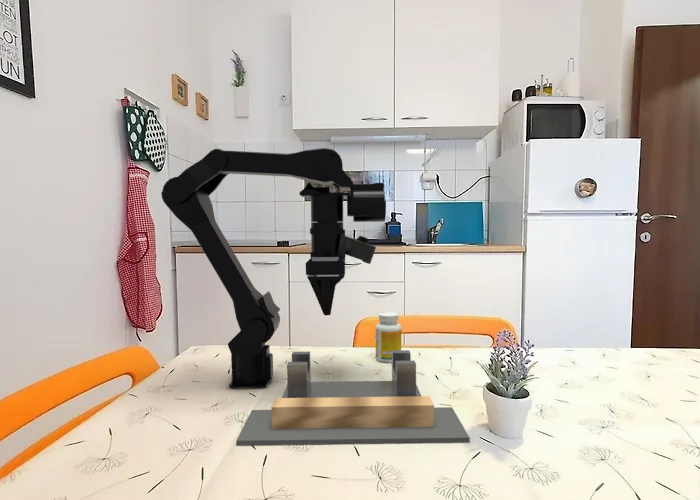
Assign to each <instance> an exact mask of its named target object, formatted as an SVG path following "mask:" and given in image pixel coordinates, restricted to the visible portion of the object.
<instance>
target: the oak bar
mask: <svg viewBox="0 0 700 500" xmlns="http://www.w3.org/2000/svg"><path fill="white" fill-rule="evenodd" d="M434 408H435V405H434V402H433V400H432V398H431V396H429V395H428V396H427V395H425V396H424V395H423V396H422V395H421V396H408V397H328V398H282V397H275V398H274V400H273V403H272V406H271V410H272V429H303V428H379V427H434Z"/></svg>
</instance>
